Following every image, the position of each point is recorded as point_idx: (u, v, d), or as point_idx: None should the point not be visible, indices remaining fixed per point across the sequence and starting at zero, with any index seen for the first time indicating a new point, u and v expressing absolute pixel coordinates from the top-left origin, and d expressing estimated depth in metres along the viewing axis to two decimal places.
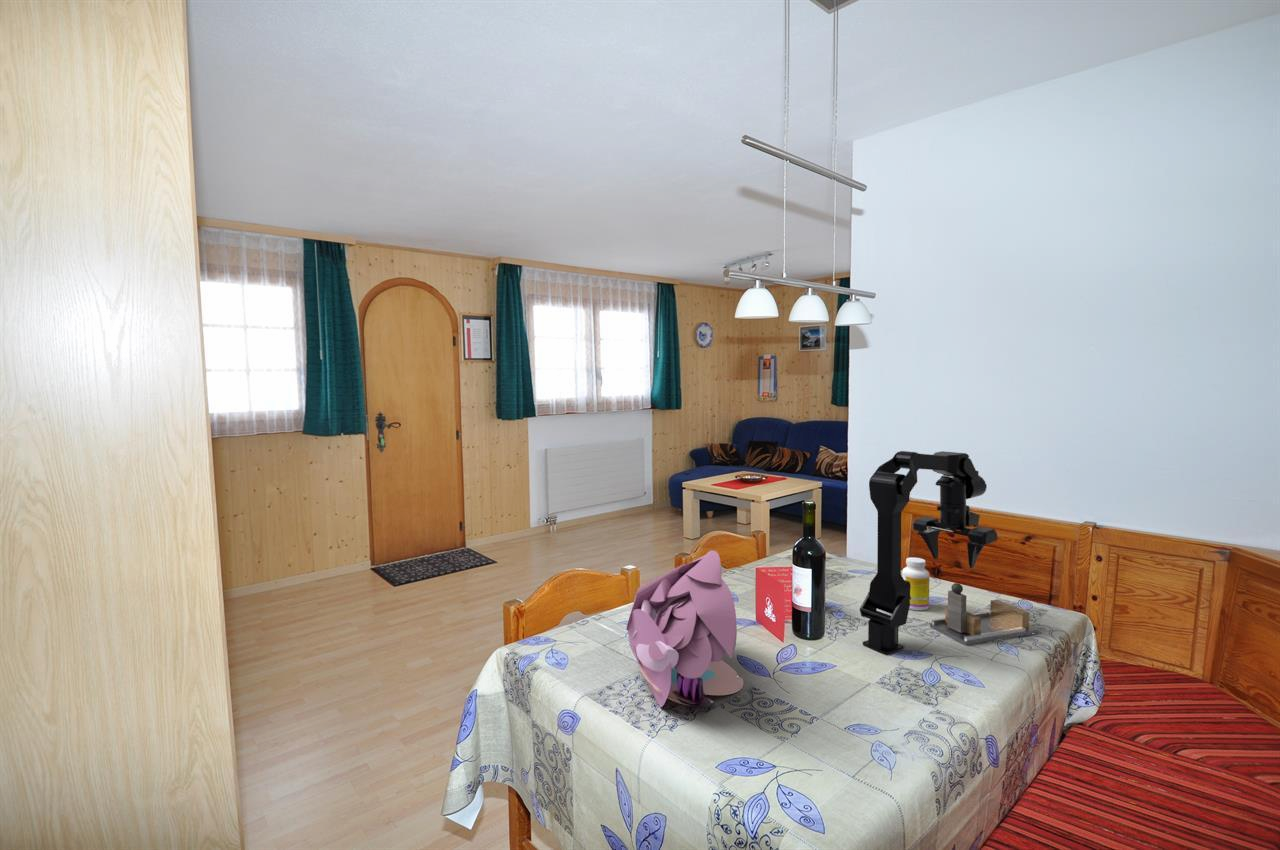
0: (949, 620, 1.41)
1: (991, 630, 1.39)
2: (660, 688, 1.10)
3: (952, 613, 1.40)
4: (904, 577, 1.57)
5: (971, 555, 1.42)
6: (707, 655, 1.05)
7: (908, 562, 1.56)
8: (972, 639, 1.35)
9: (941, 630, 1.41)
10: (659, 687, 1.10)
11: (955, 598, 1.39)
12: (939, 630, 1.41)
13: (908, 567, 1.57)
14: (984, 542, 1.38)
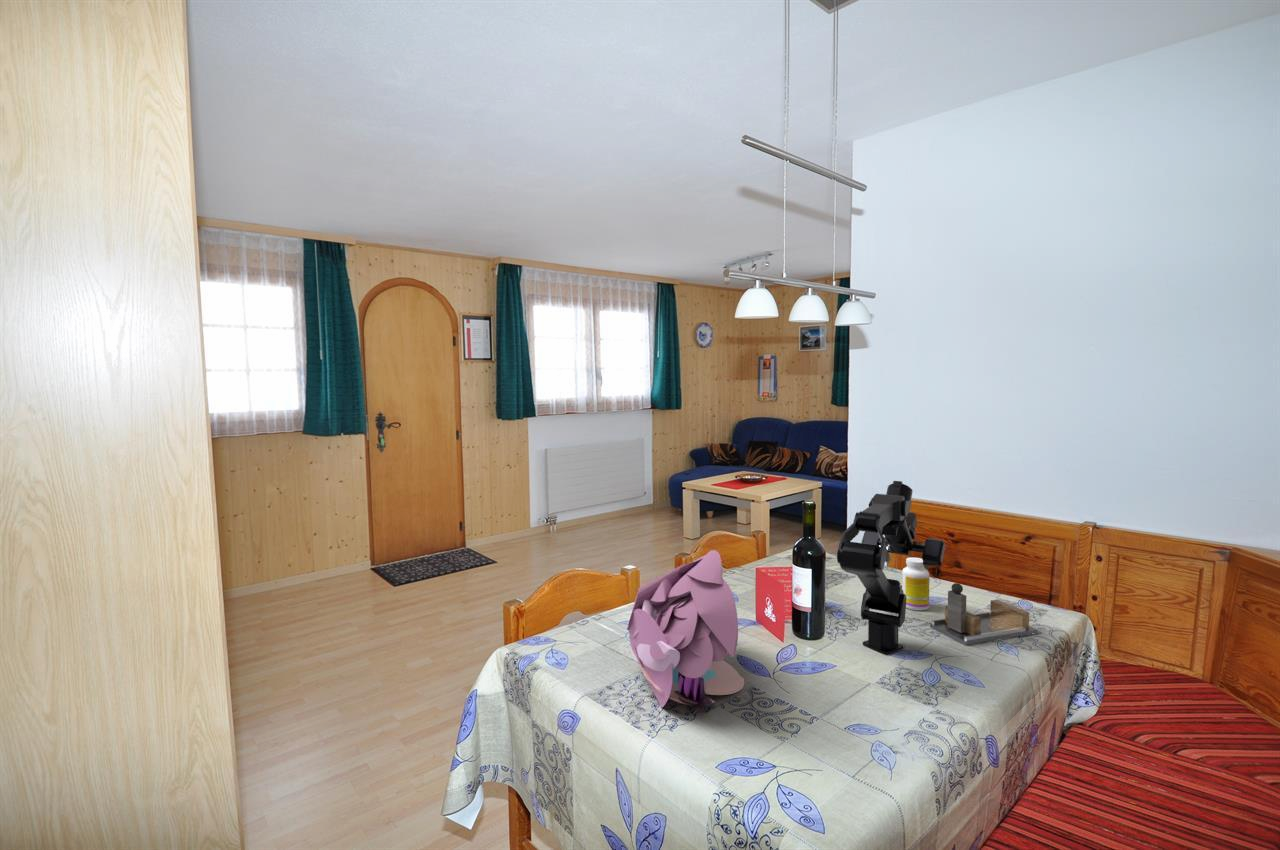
0: (949, 620, 1.41)
1: (991, 630, 1.39)
2: (661, 688, 1.10)
3: (952, 613, 1.40)
4: (904, 577, 1.57)
5: (927, 567, 1.44)
6: (708, 655, 1.05)
7: (908, 562, 1.56)
8: (972, 639, 1.35)
9: (941, 630, 1.41)
10: (660, 687, 1.10)
11: (955, 598, 1.39)
12: (939, 630, 1.41)
13: (908, 567, 1.57)
14: (940, 563, 1.39)
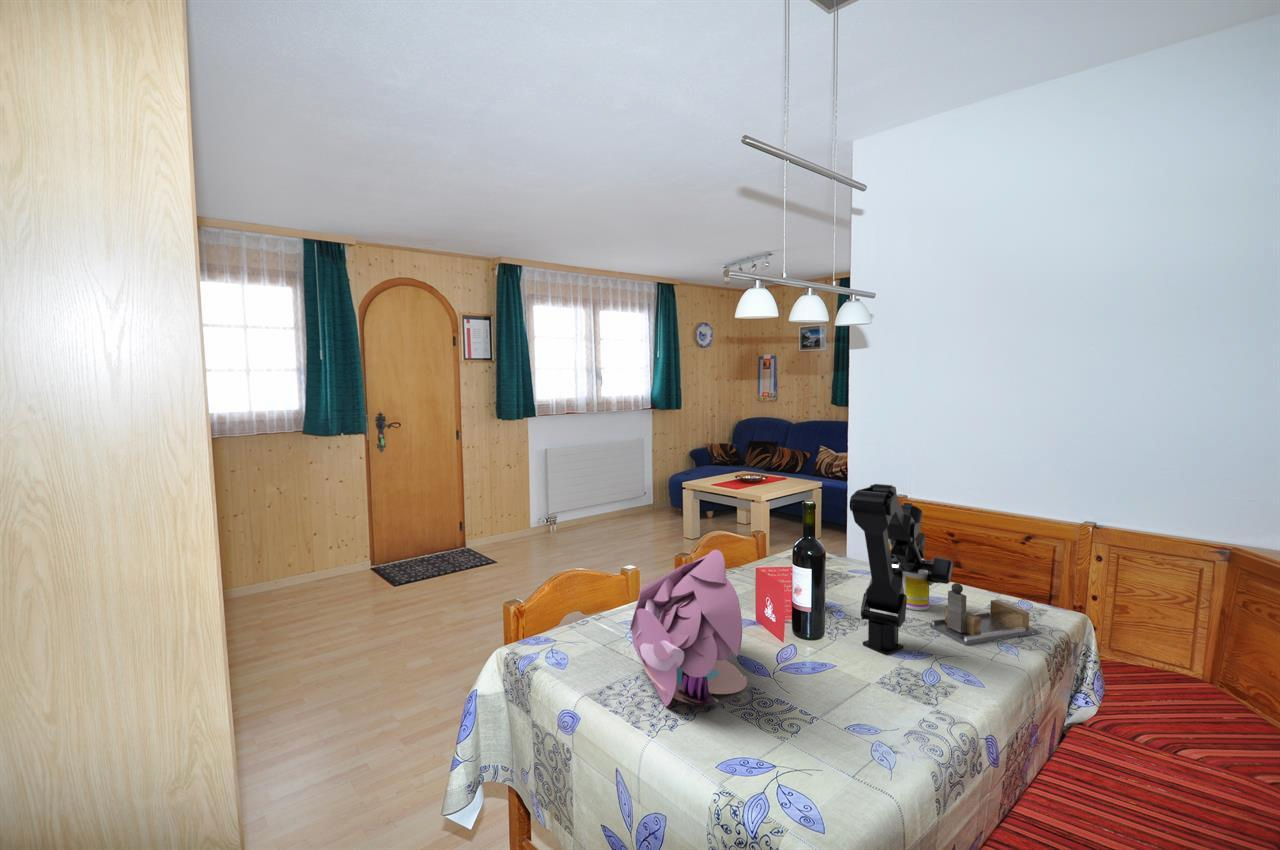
0: (949, 620, 1.41)
1: (991, 630, 1.39)
2: (665, 687, 1.10)
3: (952, 613, 1.40)
4: (904, 577, 1.57)
5: (931, 583, 1.53)
6: (713, 654, 1.06)
7: None
8: (972, 639, 1.35)
9: (941, 630, 1.41)
10: (664, 686, 1.10)
11: (955, 598, 1.39)
12: (939, 630, 1.41)
13: None
14: (948, 582, 1.47)
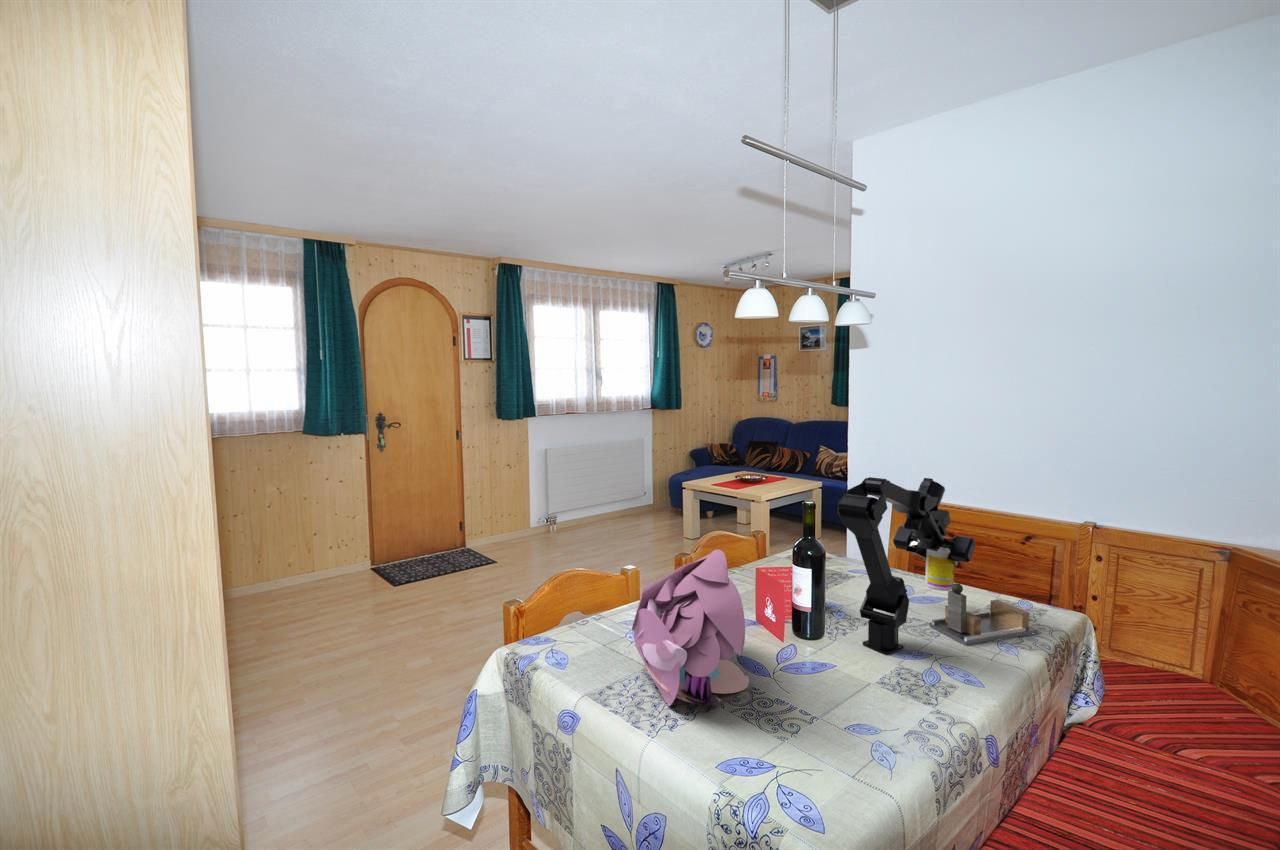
0: (949, 620, 1.41)
1: (991, 630, 1.39)
2: (668, 687, 1.10)
3: (952, 613, 1.40)
4: (927, 556, 1.53)
5: (954, 562, 1.48)
6: (716, 653, 1.06)
7: None
8: (972, 639, 1.35)
9: (941, 630, 1.41)
10: (667, 686, 1.10)
11: (955, 598, 1.39)
12: (939, 630, 1.41)
13: None
14: (968, 560, 1.42)
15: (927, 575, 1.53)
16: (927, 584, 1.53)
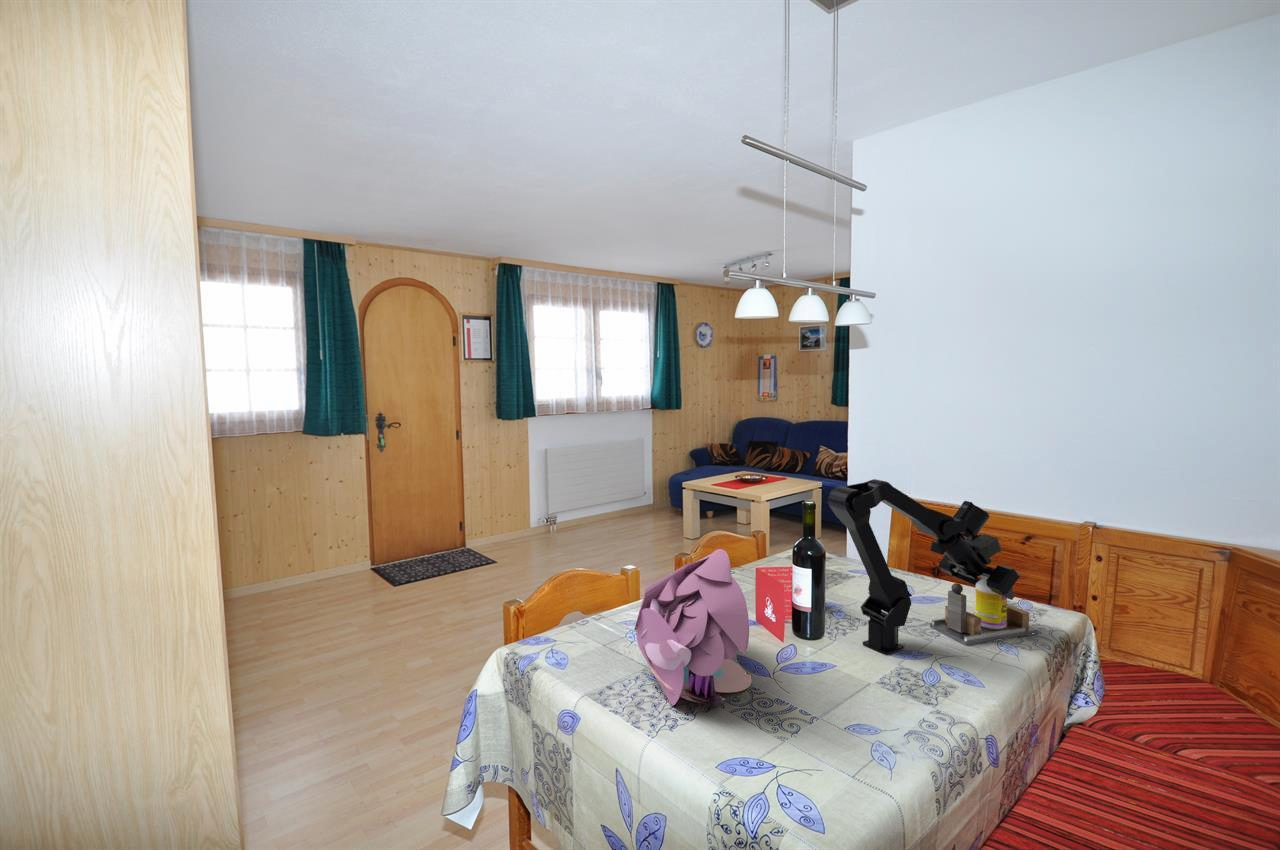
0: (949, 620, 1.41)
1: (991, 630, 1.39)
2: (672, 686, 1.10)
3: (952, 613, 1.40)
4: (975, 589, 1.44)
5: None
6: (720, 653, 1.06)
7: None
8: (972, 639, 1.35)
9: (941, 630, 1.41)
10: (671, 685, 1.10)
11: (955, 598, 1.39)
12: (939, 630, 1.41)
13: (981, 579, 1.43)
14: (1004, 593, 1.32)
15: (975, 610, 1.43)
16: None
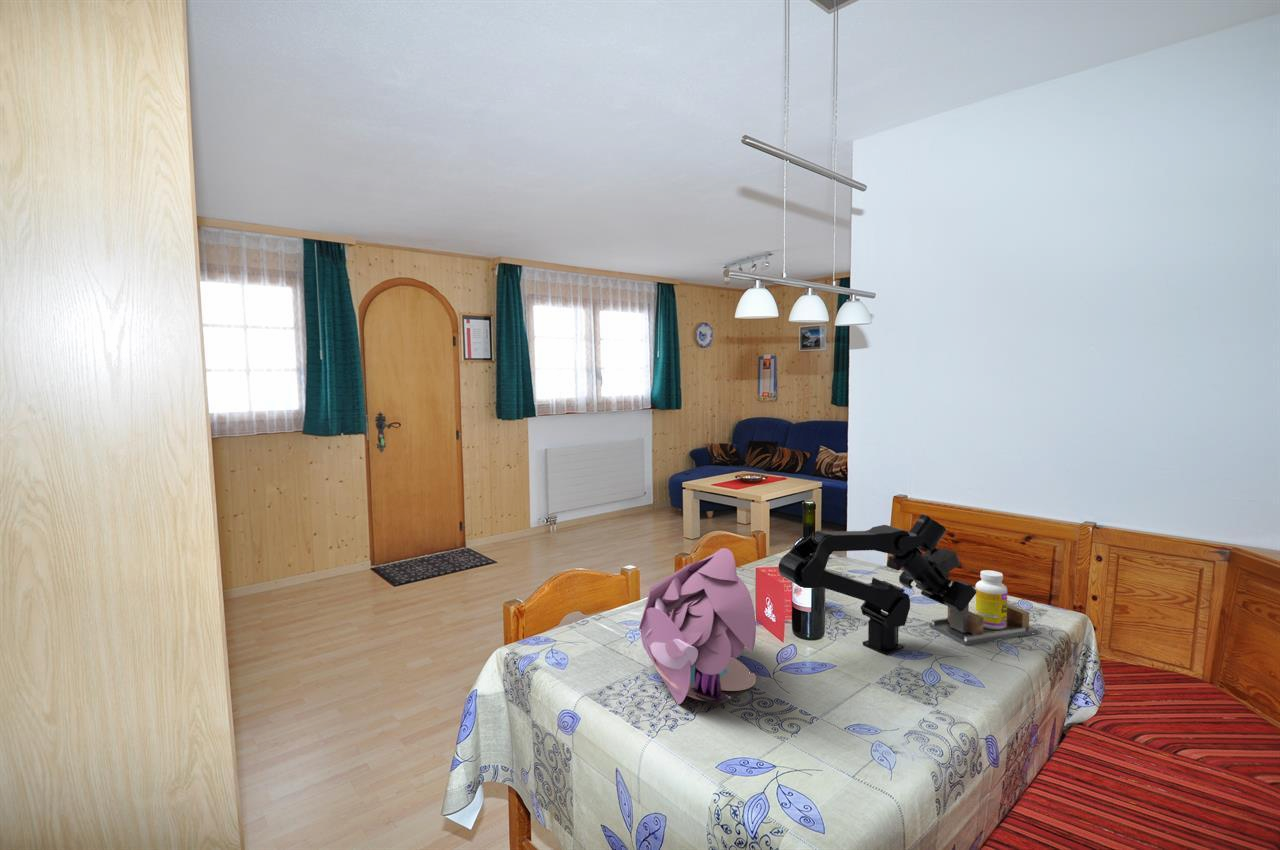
0: (951, 620, 1.41)
1: (991, 630, 1.39)
2: (678, 685, 1.10)
3: (954, 613, 1.40)
4: None
5: None
6: (726, 651, 1.07)
7: (980, 574, 1.43)
8: (972, 639, 1.35)
9: (941, 630, 1.41)
10: (677, 684, 1.11)
11: None
12: (939, 630, 1.41)
13: (981, 579, 1.43)
14: (960, 609, 1.28)
15: (975, 610, 1.43)
16: None
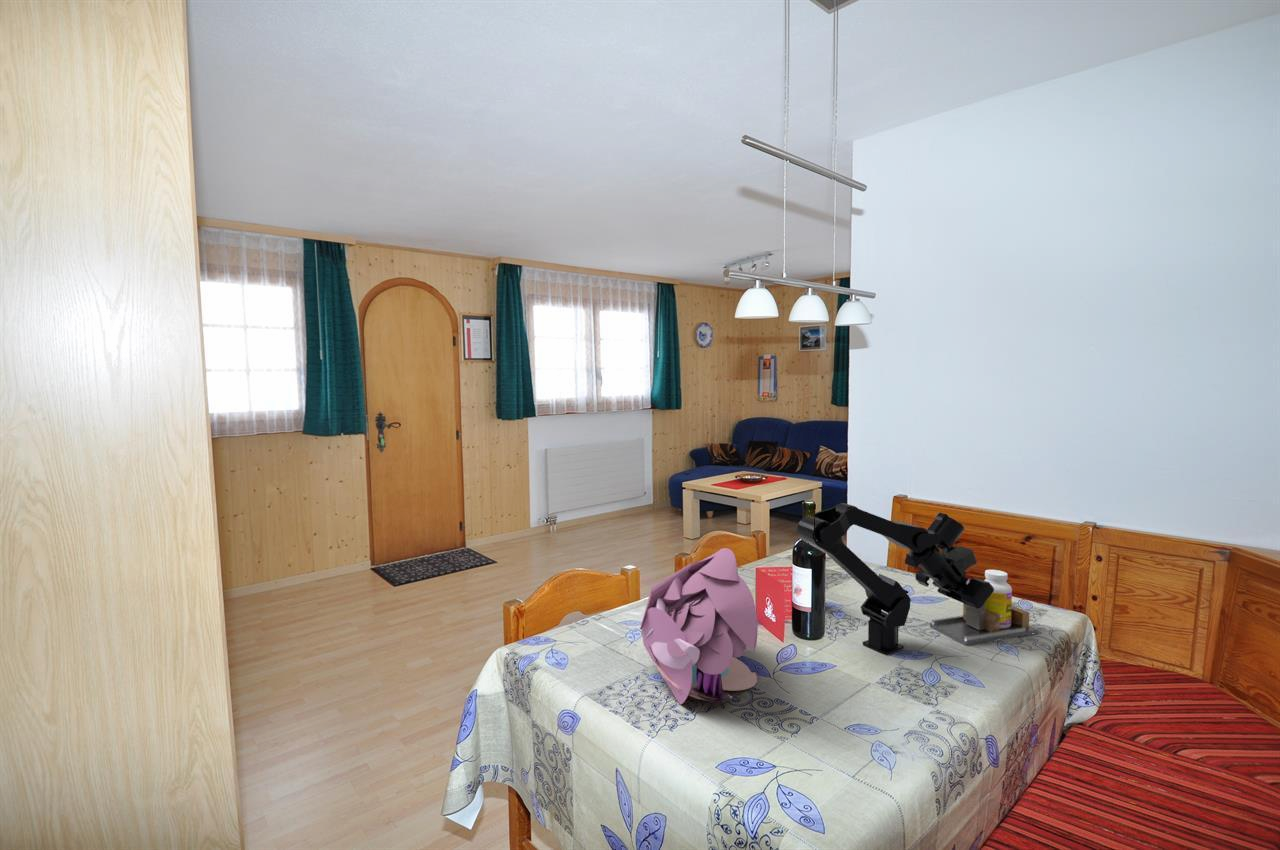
0: (967, 617, 1.42)
1: None
2: (680, 685, 1.11)
3: (970, 610, 1.41)
4: None
5: (962, 602, 1.38)
6: (728, 651, 1.07)
7: (985, 573, 1.43)
8: (972, 639, 1.35)
9: (941, 630, 1.41)
10: (679, 684, 1.11)
11: None
12: (939, 630, 1.41)
13: None
14: (978, 606, 1.30)
15: None
16: None
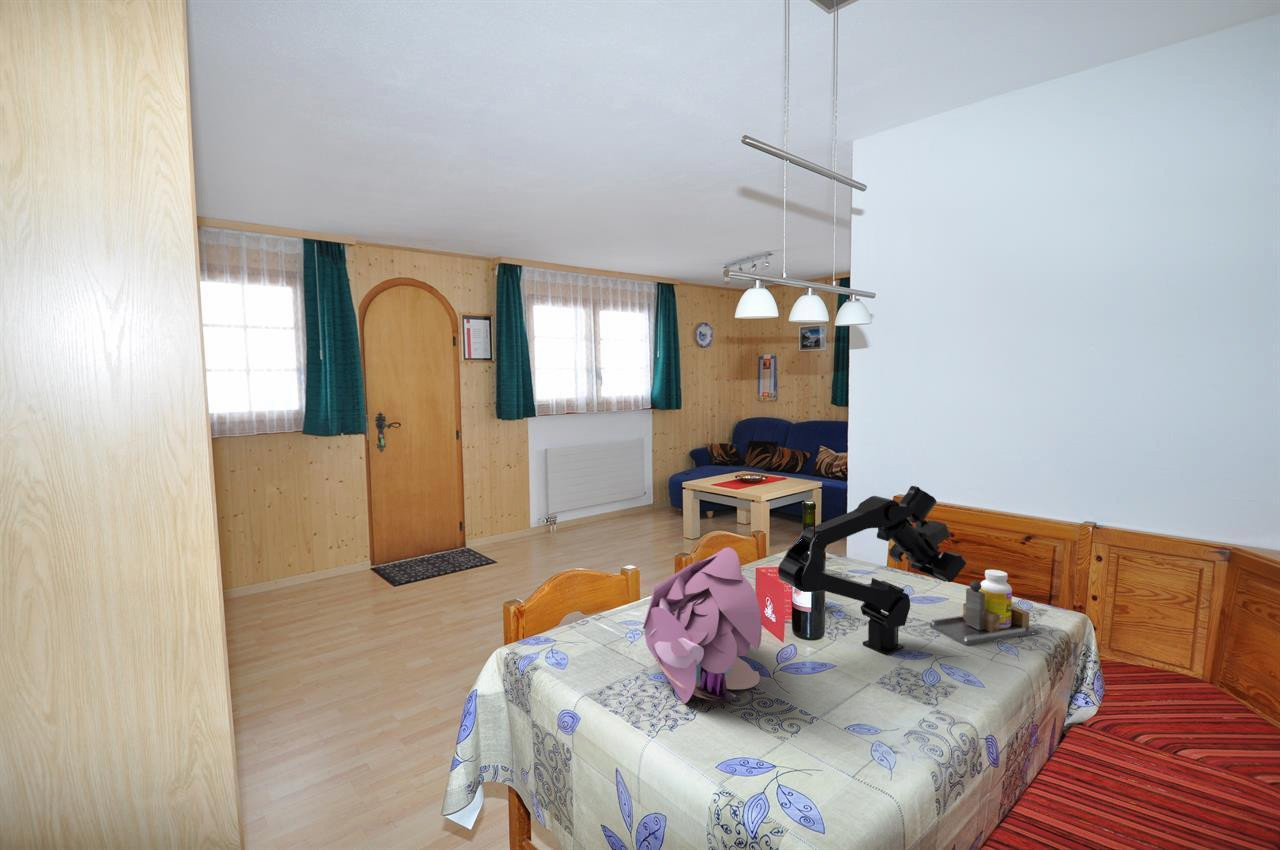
0: (967, 617, 1.42)
1: None
2: (684, 684, 1.11)
3: (970, 610, 1.41)
4: (980, 589, 1.44)
5: (935, 577, 1.36)
6: (732, 650, 1.07)
7: (985, 573, 1.43)
8: (972, 639, 1.35)
9: (941, 630, 1.41)
10: (683, 683, 1.11)
11: (973, 595, 1.40)
12: (939, 630, 1.41)
13: None
14: (950, 580, 1.27)
15: None
16: None
